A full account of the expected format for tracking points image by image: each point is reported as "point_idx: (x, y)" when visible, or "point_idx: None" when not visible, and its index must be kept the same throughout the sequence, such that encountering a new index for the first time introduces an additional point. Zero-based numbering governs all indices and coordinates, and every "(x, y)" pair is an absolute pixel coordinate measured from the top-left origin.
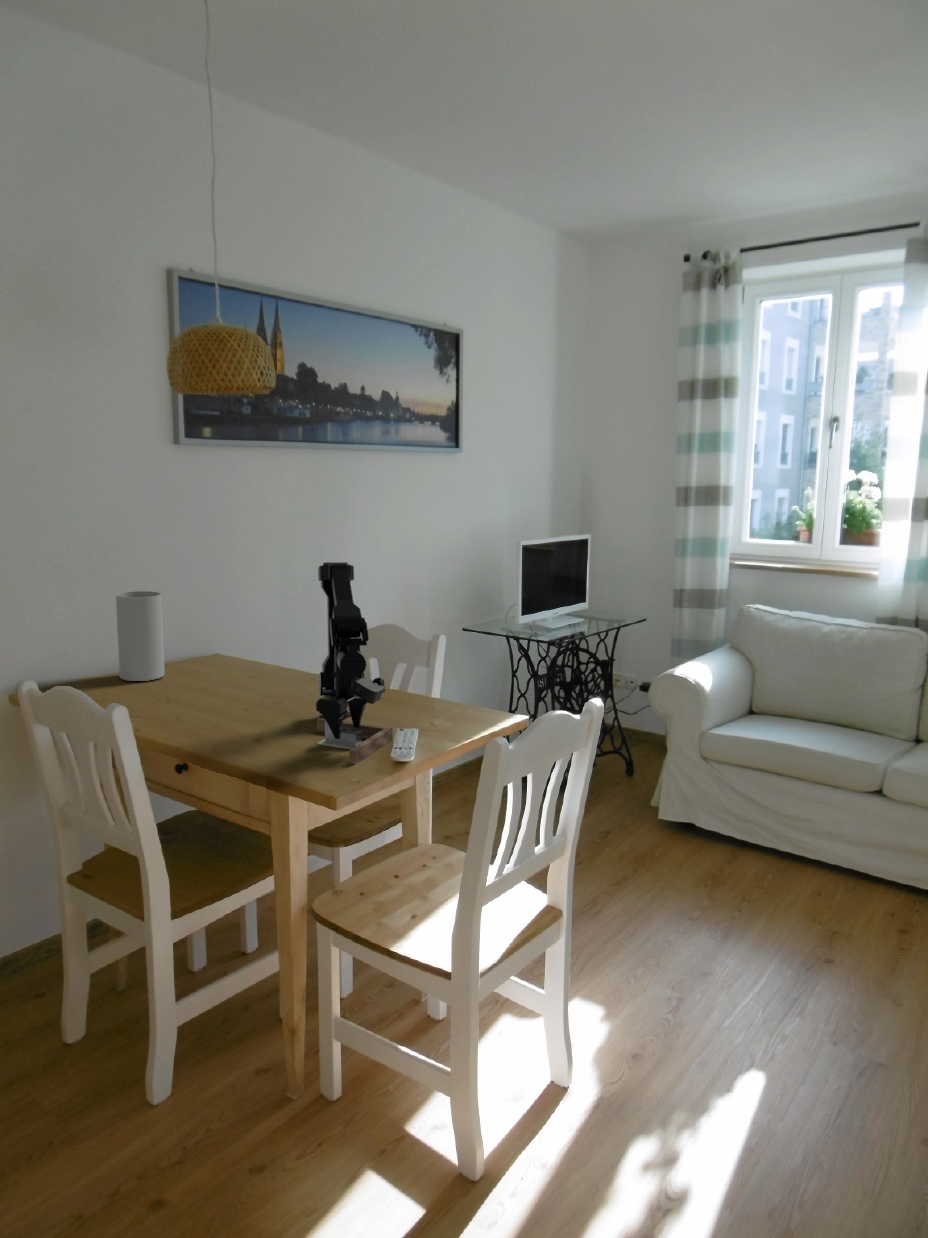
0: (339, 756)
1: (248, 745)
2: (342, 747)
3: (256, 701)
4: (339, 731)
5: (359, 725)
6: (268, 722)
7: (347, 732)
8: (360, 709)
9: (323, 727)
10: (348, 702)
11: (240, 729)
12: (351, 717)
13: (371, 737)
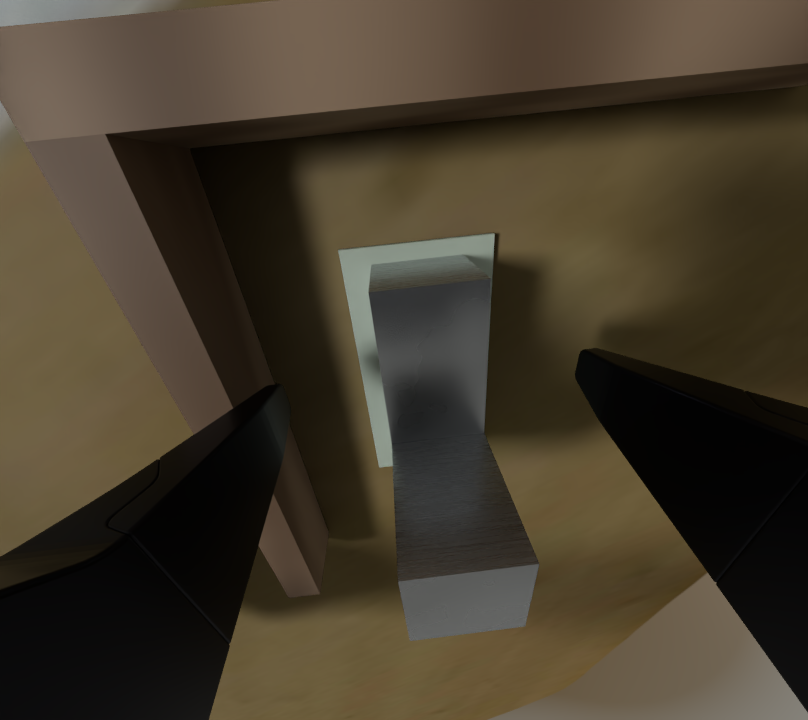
0: (642, 253)
1: (575, 576)
2: (489, 328)
3: (225, 714)
4: (667, 369)
5: (230, 404)
6: (349, 640)
7: (460, 370)
8: (174, 521)
9: (318, 535)
10: (208, 700)
11: (446, 642)
12: (273, 492)
13: (482, 72)
